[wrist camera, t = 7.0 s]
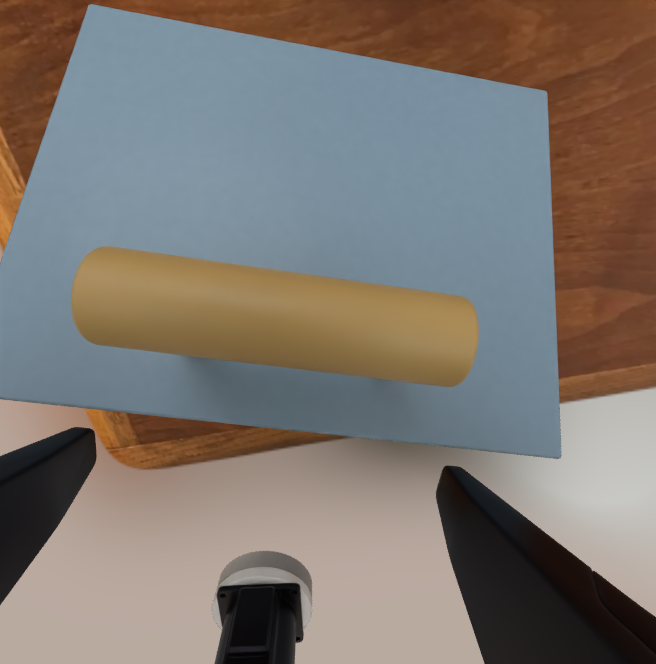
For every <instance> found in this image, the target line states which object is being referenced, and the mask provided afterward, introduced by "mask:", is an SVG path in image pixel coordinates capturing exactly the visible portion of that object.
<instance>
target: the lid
mask: <svg viewBox="0 0 656 664" xmlns="http://www.w3.org/2000/svg"><path fill="white" fill-rule="evenodd" d="M0 399H4V400H13V401H23V402H32V403H42V404H51V405H61V406H69V407H79V408H88V409H97V410H107V411H116V412H125V413H135V414H144V415H153V416H163V417H172V418H181V419H191V420H200V421H209V422H219V423H228V424H237V425H247V426H256V427H265V428H275V429H284V430H293V431H303V432H312V433H321V434H331V435H340V436H349V437H359V438H368V439H377V440H387V441H396V442H405V443H415V444H425V445H434V446H443V447H452V448H461V449H471V450H480V451H489V452H499V453H508V454H517V455H528V456H536V457H545V458H555V459H559V458H561V435H560V434H561V433H560V408H559V381H558V355H557V329H556V304H555V278H554V252H553V226H552V201H551V175H550V149H549V123H548V98H547V92H546V91H543V90H537V89H532V88H527V87H522V86H517V85H511V84H506V83H501V82H496V81H490V80H485V79H480V78H475V77H469V76H464V75H459V74H454V73H449V72H443V71H438V70H433V69H428V68H422V67H417V66H412V65H407V64H401V63H396V62H391V61H386V60H380V59H375V58H370V57H365V56H360V55H354V54H349V53H344V52H339V51H333V50H328V49H323V48H318V47H312V46H307V45H302V44H297V43H291V42H286V41H281V40H276V39H271V38H265V37H260V36H255V35H250V34H244V33H239V32H234V31H229V30H223V29H218V28H213V27H208V26H203V25H197V24H192V23H187V22H182V21H176V20H171V19H166V18H161V17H155V16H150V15H145V14H140V13H134V12H129V11H124V10H119V9H114V8H108V7H103V6H98V5H93V4H90V5H89V6H88V9H87V12H86V15H85V18H84V21H83V23H82V26H81V29H80V32H79V35H78V38H77V41H76V44H75V47H74V50H73V52H72V55H71V58H70V61H69V64H68V67H67V70H66V73H65V76H64V79H63V81H62V84H61V87H60V90H59V93H58V96H57V99H56V102H55V105H54V108H53V111H52V113H51V116H50V119H49V122H48V125H47V128H46V131H45V134H44V137H43V140H42V142H41V145H40V148H39V151H38V154H37V157H36V160H35V163H34V166H33V169H32V172H31V174H30V177H29V180H28V183H27V186H26V189H25V192H24V195H23V198H22V201H21V203H20V206H19V209H18V212H17V215H16V218H15V221H14V224H13V227H12V230H11V232H10V235H9V238H8V241H7V244H6V247H5V250H4V253H3V256H2V259H1V262H0Z"/></svg>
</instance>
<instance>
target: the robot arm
mask: <svg viewBox="0 0 656 664" xmlns="http://www.w3.org/2000/svg"><path fill="white" fill-rule="evenodd" d="M95 462H96V443H95V433H94V431H93V430H92V429H90V428H81V427H74V428H71V429H68V430H66V431H63V432H61V433H58V434H56V435H53V436H50V437H48V438H46V439H43V440H41V441H38V442H35V443H33V444H30V445H27V446H25V447H22V448H20V449H17V450H15V451H12V452H10V453H7V454H5V455H2V456H0V605H1V603H2V602H3V600H4V599H5V598H6V596H7V595H8V594H9V592H10V591H11V590H12V588H13V587H14V585H15V584H16V583H17V581H18V580H19V579H20V577H21V576H22V574H23V573H24V572H25V570H26V569H27V568H28V566H29V565H30V563H31V562H32V561H33V560H34V558H35V556H36V555H37V554H38V553H39V551H40V550H41V549H42V547H43V546H44V544H45V543H46V542H47V540H48V539H49V537H50V536H51V535H52V533H53V532H54V531H55V529H56V528H57V526H58V525H59V523H60V522H61V520H62V519H63V517H64V515H65V514H66V512H67V510H68V508H69V507H70V505H71V504H72V502H73V500H74V499H75V497H76V495H77V494H78V492H79V490H80V489H81V487H82V485H83V484H84V482H85V480H86V479H87V477H88V475H89V473H90V472H91V470H92V468H93V467H94V464H95ZM436 499H437V504H438V509H439V513H440V517H441V522H442V526H443V531H444V535H445V539H446V544H447V549H448V552H449V556H450V560H451V563H452V566H453V570H454V572H455V576H456V578H457V582H458V585H459V588H460V591H461V594H462V597H463V600H464V603H465V606H466V609H467V612H468V615H469V618H470V621H471V624H472V627H473V630H474V633H475V636H476V639H477V642H478V645H479V648H480V651H481V654H482V657H483V660H484V663H485V664H656V617H655V616H653V615H652V614H651V613H649V612H648V611H646V610H645V609H644V608H642V607H641V606H640V605H638V604H637V603H636V602H634V601H633V600H632V599H630V598H629V597H628V596H626V595H625V594H624V593H622V592H621V591H620V590H618V589H617V588H616V587H615V586H613V585H612V584H611V583H609V582H608V581H607V580H606V579H604V578H603V577H602V576H600V575H599V574H598V573H597V572H595V571H592V570H591V568H590V567H589V566H587V565H586V564H585V563H584V562H582V561H581V560H579V559H578V558H577V557H576V556H575V555H573V554H572V553H571V552H569V551H568V550H567V549H566V548H564V547H563V546H562V545H560V544H559V543H558V542H556V541H555V540H554V539H553V538H551V537H550V536H549V535H547V534H546V533H545V532H544V531H542V530H541V529H540V528H538V527H537V526H536V525H535V524H533V523H532V522H531V521H529V520H528V519H527V518H526V517H524V516H523V515H522V514H520V513H519V512H518V511H517V510H515V509H514V508H513V507H511V506H510V505H509V504H508V503H506V502H505V501H504V500H502V499H501V498H500V497H499V496H497V495H496V494H495V493H493V492H492V491H491V490H490V489H488V488H487V487H485V486H484V485H483V484H482V483H480V482H479V481H478V480H476V479H475V478H474V477H473V476H471V475H470V474H469V473H468V472H466V471H465V470H464V469H462V468H461V467H457V466H445V467H444V468H443V470H442V473H441V477H440V480H439V483H438V486H437V490H436ZM217 602H218V607H219V613H220V618H221V624H222V634H221V638H220V642H219V647H218V651H217V655H216V660H215V664H294V663H295V643H298V642H301V641H302V640H303V618H302V602H301V587H300V585H299V584H298V583H275V584H252V585H229V586H221V587H219V588H218V591H217Z"/></svg>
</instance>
